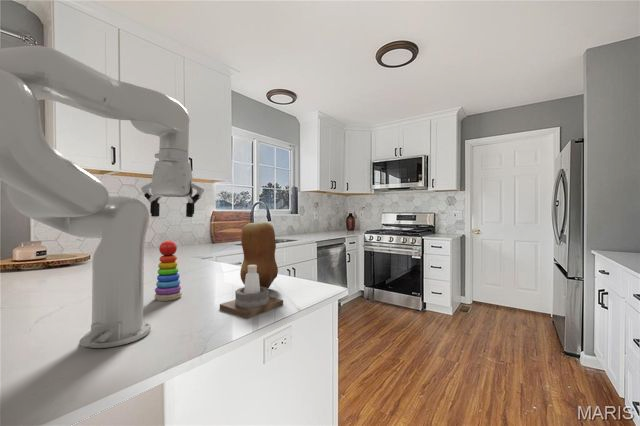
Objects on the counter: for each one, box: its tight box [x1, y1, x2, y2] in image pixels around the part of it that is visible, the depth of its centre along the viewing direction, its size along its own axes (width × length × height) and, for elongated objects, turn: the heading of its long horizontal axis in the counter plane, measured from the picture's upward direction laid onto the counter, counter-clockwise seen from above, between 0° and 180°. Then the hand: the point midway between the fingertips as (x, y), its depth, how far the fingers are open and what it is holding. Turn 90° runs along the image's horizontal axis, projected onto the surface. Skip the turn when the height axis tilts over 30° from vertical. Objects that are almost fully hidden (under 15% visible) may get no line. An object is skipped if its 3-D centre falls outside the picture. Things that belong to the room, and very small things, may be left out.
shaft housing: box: [219, 286, 284, 319], centre depth 85 cm, size 14×12×5 cm
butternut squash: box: [239, 221, 279, 289], centre depth 103 cm, size 14×13×25 cm
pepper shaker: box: [243, 265, 260, 294], centre depth 85 cm, size 5×5×11 cm
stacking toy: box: [153, 240, 183, 302], centre depth 93 cm, size 8×8×19 cm
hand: (172, 216), depth 83 cm, fingers open, 9 cm apart
